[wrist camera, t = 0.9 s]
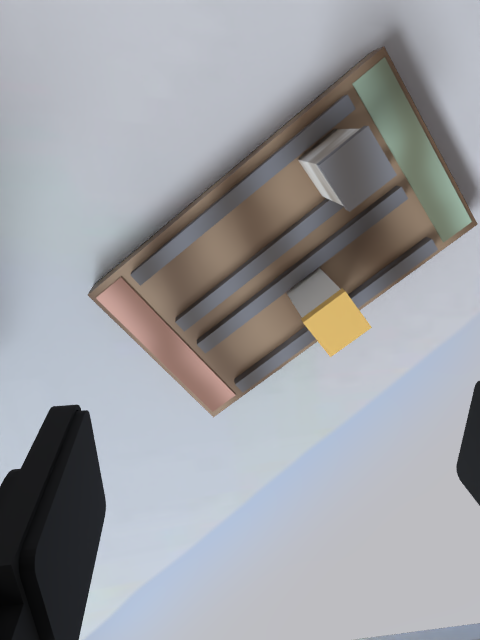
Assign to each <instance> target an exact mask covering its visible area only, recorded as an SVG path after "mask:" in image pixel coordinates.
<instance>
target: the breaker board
mask: <svg viewBox="0 0 480 640" xmlns="http://www.w3.org/2000/svg"><path fill="white" fill-rule="evenodd" d="M476 225H477V222H476V220H475V219H474V217H473V215H472V213H471V211H470V209H469V207H468V205H467V203H466V201H465V199H464V198H463V196H462V194H461V192H460V190H459V188H458V186H457V184H456V182H455V180H454V179H453V177H452V175H451V173H450V171H449V169H448V167H447V165H446V163H445V161H444V159H443V158H442V156H441V154H440V152H439V150H438V148H437V146H436V144H435V142H434V140H433V138H432V137H431V135H430V133H429V131H428V129H427V127H426V125H425V123H424V121H423V119H422V118H421V116H420V114H419V112H418V110H417V108H416V106H415V104H414V102H413V100H412V98H411V97H410V95H409V93H408V91H407V89H406V87H405V85H404V83H403V81H402V79H401V77H400V76H399V74H398V72H397V70H396V68H395V66H394V64H393V62H392V60H391V58H390V57H389V55H388V53H387V51H386V49H385V47H382V48H379V49H377V50H375V51H373V52H371V53H370V54H368V55H367V56H366V57H365V58H364V59H363V60H361V61H360V62H359V63H358V64H357V65H355V66H354V67H353V68H352V69H351V70H349V71H348V72H347V73H346V74H345V75H344V76H342V77H341V78H340V79H339V80H338V81H336V82H335V83H334V84H333V85H332V86H330V87H329V88H328V89H327V90H326V91H324V92H323V93H322V94H321V95H320V96H319V97H317V98H316V99H315V100H314V101H313V102H311V103H310V104H309V105H308V106H307V107H305V108H304V109H303V110H302V111H301V112H299V113H298V114H297V115H296V116H295V117H294V118H292V119H291V120H290V121H289V122H288V123H286V124H285V125H284V126H283V127H282V128H280V129H279V130H278V131H277V132H276V133H275V134H273V135H272V136H271V137H270V138H269V139H267V140H266V141H265V142H264V143H263V144H261V145H260V146H259V147H258V148H257V149H255V150H254V151H253V152H252V153H251V154H250V155H248V156H247V157H246V158H245V159H244V160H242V161H241V162H240V163H239V164H238V165H236V166H235V167H234V168H233V169H232V170H230V171H229V172H228V173H227V174H226V175H225V176H223V177H222V178H221V179H220V180H219V181H217V182H216V183H215V184H214V185H213V186H211V187H210V188H209V189H208V190H207V191H206V192H204V193H203V194H202V195H201V196H200V197H198V198H197V199H196V200H195V201H194V202H192V203H191V204H190V205H189V206H188V207H186V208H185V209H184V210H183V211H182V212H181V213H179V214H178V215H177V216H176V217H175V218H173V219H172V220H171V221H170V222H169V223H167V224H166V225H165V226H164V227H163V228H161V229H160V230H159V231H158V232H157V233H156V234H154V235H153V236H152V237H151V238H150V239H148V240H147V241H146V242H145V243H144V244H142V245H141V246H140V247H139V248H138V249H137V250H135V251H134V252H133V253H132V254H131V255H129V256H128V257H127V258H126V259H125V260H123V261H122V262H121V263H120V264H119V265H117V266H116V267H115V268H114V269H113V270H112V271H110V272H109V273H108V274H107V275H106V276H104V277H103V278H102V279H101V280H100V281H98V282H97V283H96V284H95V285H94V286H93V287H92V289H91V290H90V292H89V294H88V296H89V297H90V298H91V299H92V300H93V301H94V302H95V303H96V304H97V305H98V306H99V307H100V308H101V309H102V310H103V311H104V312H106V313H107V314H108V315H109V316H110V317H111V318H112V319H113V320H114V321H115V322H116V323H117V324H118V325H119V326H120V327H121V328H122V329H123V330H124V331H125V332H126V333H127V334H128V335H129V336H130V337H131V338H132V339H133V340H134V341H135V342H136V343H138V344H139V345H140V346H141V347H142V348H143V349H144V350H145V351H146V352H147V353H148V354H149V355H150V356H151V357H152V358H153V359H154V360H155V361H156V362H157V363H158V364H159V365H160V366H161V367H162V368H163V369H164V370H165V371H166V372H167V373H168V374H170V375H171V376H172V377H173V378H174V379H175V380H176V381H177V382H178V383H179V384H180V385H181V386H182V387H183V388H184V389H185V390H186V391H187V392H188V393H189V394H190V395H191V396H192V397H193V398H194V399H195V400H196V401H197V402H198V403H199V404H200V405H202V406H203V407H204V408H205V409H206V410H207V411H208V412H209V413H210V414H211V415H212V416H213V417H215V416H216V415H217V414H219V413H220V412H221V411H223V410H224V409H225V408H227V407H228V406H230V405H231V404H232V403H234V402H235V401H236V400H238V399H239V398H241V397H242V396H243V395H245V394H246V393H247V392H249V391H250V390H251V389H253V388H254V387H256V386H257V385H258V384H260V383H261V382H262V381H264V380H265V379H267V378H268V377H269V376H271V375H272V374H273V373H275V372H276V371H277V370H279V369H280V368H282V367H283V366H284V365H286V364H287V363H288V362H290V361H291V360H293V359H294V358H295V357H297V356H298V355H299V354H301V353H302V352H303V351H305V350H306V349H308V348H309V347H310V346H312V345H313V344H314V343H316V342H317V340H316V338H315V337H314V336H313V335H312V333H311V332H310V331H309V330H308V328H307V327H306V326H305V325H304V323H303V322H302V320H301V318H302V317H301V315H300V314H299V312H298V311H297V309H296V308H295V306H294V304H293V303H292V301H291V300H290V298H289V296H288V295H287V293H286V292H288V291H289V290H290V289H292V288H293V287H294V286H296V285H297V284H298V283H300V282H301V281H302V280H304V279H305V278H306V277H307V276H309V275H310V274H311V273H313V272H314V271H315V270H317V269H318V268H320V269H321V270H322V271H323V272H324V273H325V274H326V275H327V276H328V277H329V278H330V279H331V280H332V281H333V282H334V283H335V284H336V285H337V286H338V287H339V288H340V289H341V288H343V289H344V290H345V291H346V293H347V294H348V296H349V297H350V298H351V300H352V301H353V302H354V304H355V305H356V307H357V308H358V309H359V311H360V310H361V309H362V308H364V307H365V306H366V305H368V304H369V303H370V302H372V301H373V300H375V299H376V298H377V297H379V296H380V295H381V294H383V293H384V292H386V291H387V290H388V289H390V288H391V287H392V286H394V285H395V284H396V283H398V282H399V281H401V280H402V279H403V278H405V277H406V276H407V275H409V274H410V273H412V272H413V271H414V270H416V269H417V268H418V267H420V266H421V265H422V264H424V263H425V262H427V261H428V260H429V259H431V258H432V257H433V256H435V255H436V254H438V253H439V252H440V251H442V250H443V249H444V248H446V247H447V246H448V245H450V244H451V243H453V242H454V241H455V240H457V239H458V238H459V237H461V236H462V235H463V234H465V233H466V232H468V231H469V230H470V229H472V228H473V227H474V226H476Z"/></svg>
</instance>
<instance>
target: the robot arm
mask: <svg viewBox="0 0 480 640" xmlns="http://www.w3.org/2000/svg"><path fill="white" fill-rule="evenodd" d="M457 473H458V477H459V479H460V481H461V482H462V483H463V485H464V486H465V487H466V489H467V490H468V491H469V492H470V494H471V495H472V496H473V497H474V499H475V500H476V501H477V503H478V504H479V505H480V381H478V382H477V383H476V385H475V388H474V392H473V397H472V401H471V405H470V410H469V414H468V418H467V423H466V427H465V431H464V436H463V440H462V444H461V449H460V453H459V457H458V462H457ZM105 511H106V501H105V494H104V489H103V483H102V478H101V473H100V467H99V462H98V456H97V451H96V446H95V440H94V435H93V429H92V424H91V419H90V414H89V412H88V411H87V410H86V411H81V408H80V406H79V405H67V406H53V407H51V409H50V410H49V412H48V414H47V416H46V418H45V420H44V422H43V424H42V426H41V428H40V430H39V433H38V435H37V437H36V439H35V441H34V443H33V445H32V447H31V449H30V451H29V453H28V455H27V457H26V459H25V461H24V463H23V465H22V467H21V469H14V470H11V471H10V472H9V473H8V474H7V476H6V477H5V479H4V481H3V482H2V484H1V486H0V640H79V635H80V630H81V626H82V621H83V616H84V612H85V607H86V602H87V598H88V593H89V588H90V584H91V579H92V574H93V569H94V565H95V560H96V555H97V551H98V546H99V541H100V537H101V532H102V527H103V523H104V518H105ZM356 640H480V623H478V624H470V625H462V626H455V627H447V628H439V629H432V630H424V631H417V632H409V633H401V634H394V635H386V636H378V637H371V638H363V639H356Z"/></svg>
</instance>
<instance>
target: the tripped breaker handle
mask: <svg viewBox="0 0 480 640" xmlns="http://www.w3.org/2000/svg"><path fill="white" fill-rule="evenodd" d="M286 293H287V295H288V296H289V298H290V300H291V301H292V303H293V304H294V306H295V308H296V309H297V311H298V312H299V314H300V315H301V317H302V318H301V320H302V322H303V323H304V325H305V326H306V327H307V328H308V330H309V331H310V332H311V333H312V335H313V336H314V337H315V338H316V340H317V341H318V342H319V343H320V345H321V346H322V347H323V348H324V350H325V351H326V352H327V353H328V355H329V356H330V357H331V356H333V355H334V354H336V353H337V352H338V351H340V350H341V349H342V348H344V347H345V346H347V345H348V344H349V343H351V342H352V341H354V340H355V339H356V338H358V337H359V336H361V335H362V334H363V333H365V332H366V331H367V330H369V329H370V328H372V327H371V326H370V325H369V323H368V322H367V320H366V319H365V318H364V316H363V315H362V314H361V312H360V311H359V309H358V308H357V307H356V305H355V304H354V302H353V301H352V300H351V298H350V297H349V296H348V294H347V293H346V291H345V290H344V289H343V288H341V289H340V288H339V287H338V286H337V285H336V284H335V283H334V282H333V281H332V280H331V279H330V278H329V277H328V276H327V275H326V274H325V273H324V272H323V271H322V270H321V269H320V268H318V269H317V270H315V271H314V272H313V273H311V274H310V275H309V276H307V277H306V278H305V279H304V280H302V281H301V282H300V283H298V284H297V285H296V286H294V287H293V288H292V289H290V290H289V291H288V292H286Z"/></svg>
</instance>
